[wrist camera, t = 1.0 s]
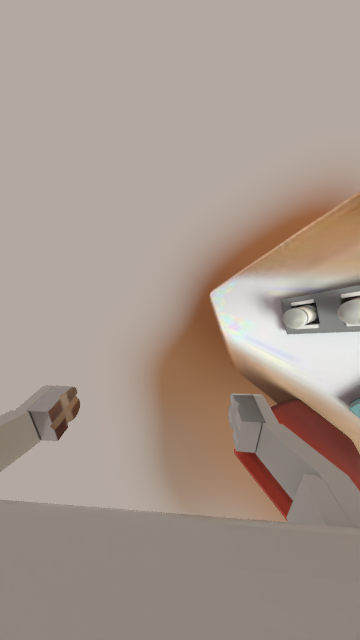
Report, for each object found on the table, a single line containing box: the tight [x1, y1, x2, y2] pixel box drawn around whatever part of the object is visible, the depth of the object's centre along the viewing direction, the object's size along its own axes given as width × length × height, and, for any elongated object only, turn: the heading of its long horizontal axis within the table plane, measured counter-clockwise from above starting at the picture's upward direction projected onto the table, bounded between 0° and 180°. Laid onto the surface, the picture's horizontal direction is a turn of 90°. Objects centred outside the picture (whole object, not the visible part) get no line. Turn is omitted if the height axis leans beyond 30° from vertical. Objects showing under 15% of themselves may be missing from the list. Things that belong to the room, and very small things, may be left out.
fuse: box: [283, 305, 318, 329], centre depth 38 cm, size 4×4×10 cm
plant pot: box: [234, 400, 360, 521], centre depth 40 cm, size 19×19×17 cm
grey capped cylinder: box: [338, 297, 360, 325], centre depth 31 cm, size 4×4×10 cm
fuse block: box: [281, 285, 360, 334], centre depth 37 cm, size 18×9×3 cm, turn 106°
